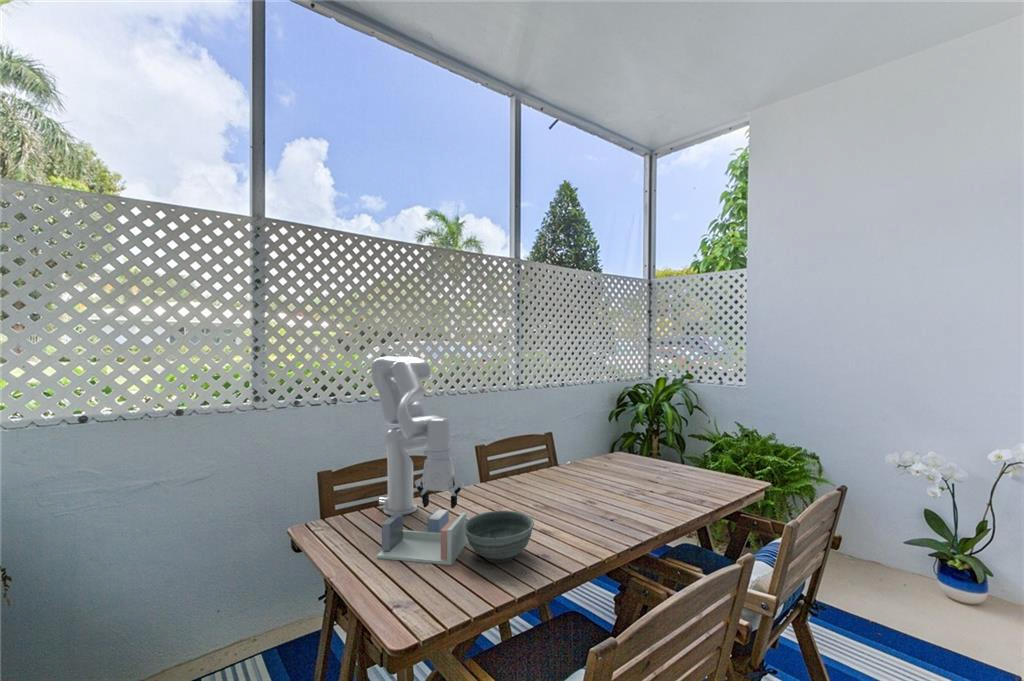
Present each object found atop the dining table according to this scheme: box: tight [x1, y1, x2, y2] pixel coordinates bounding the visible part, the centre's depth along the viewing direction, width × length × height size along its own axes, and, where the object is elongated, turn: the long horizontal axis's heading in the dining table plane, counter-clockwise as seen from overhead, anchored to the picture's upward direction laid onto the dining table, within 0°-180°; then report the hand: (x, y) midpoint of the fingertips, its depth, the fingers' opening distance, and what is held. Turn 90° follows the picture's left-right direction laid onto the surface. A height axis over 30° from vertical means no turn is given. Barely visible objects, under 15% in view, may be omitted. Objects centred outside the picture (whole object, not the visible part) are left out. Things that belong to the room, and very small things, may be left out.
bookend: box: [381, 513, 404, 551], centre depth 136 cm, size 2×9×8 cm, turn 168°
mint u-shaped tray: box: [376, 511, 467, 566], centre depth 134 cm, size 23×14×10 cm, turn 78°
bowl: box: [464, 510, 535, 564], centre depth 131 cm, size 21×21×10 cm
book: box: [427, 509, 450, 533], centre depth 148 cm, size 4×9×6 cm, turn 168°
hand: (439, 506), depth 148 cm, fingers open, 9 cm apart
